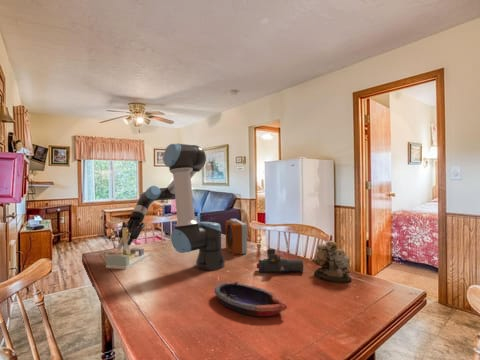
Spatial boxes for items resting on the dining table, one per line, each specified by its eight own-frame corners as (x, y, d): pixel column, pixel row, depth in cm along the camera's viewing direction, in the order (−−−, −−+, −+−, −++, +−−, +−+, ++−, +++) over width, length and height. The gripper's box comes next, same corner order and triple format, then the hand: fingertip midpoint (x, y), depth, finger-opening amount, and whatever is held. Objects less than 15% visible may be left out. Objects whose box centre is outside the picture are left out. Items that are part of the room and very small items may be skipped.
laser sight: (304, 275, 130) (304, 254, 130) (257, 275, 130) (257, 255, 130) (300, 268, 140) (299, 249, 139) (256, 268, 140) (256, 249, 140)
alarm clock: (225, 247, 180) (225, 216, 179) (238, 246, 182) (237, 216, 182) (233, 255, 162) (232, 221, 162) (247, 254, 165) (246, 220, 164)
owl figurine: (307, 277, 127) (307, 240, 127) (317, 270, 137) (316, 236, 137) (347, 286, 117) (347, 246, 116) (354, 277, 126) (354, 241, 126)
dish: (231, 288, 116) (230, 276, 116) (295, 310, 96) (295, 296, 96) (204, 301, 104) (203, 288, 104) (271, 330, 84) (271, 314, 84)
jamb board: (131, 255, 165) (130, 244, 165) (149, 256, 162) (148, 245, 162) (106, 267, 143) (105, 255, 143) (126, 269, 141) (126, 256, 141)
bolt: (130, 256, 157) (130, 225, 157) (135, 256, 156) (135, 225, 156) (117, 263, 145) (116, 229, 145) (122, 263, 144) (121, 229, 144)
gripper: (153, 218, 163) (137, 253, 147) (129, 217, 166) (111, 252, 151) (148, 210, 158) (131, 246, 142) (123, 210, 161) (104, 245, 145)
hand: (121, 249), depth 146 cm, fingers closed on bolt, 3 cm apart
